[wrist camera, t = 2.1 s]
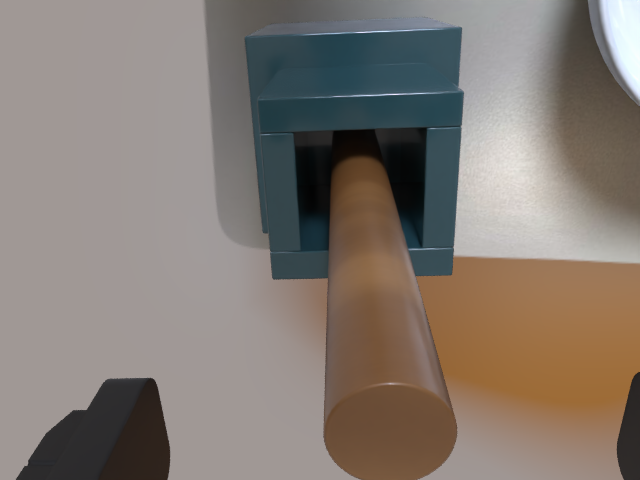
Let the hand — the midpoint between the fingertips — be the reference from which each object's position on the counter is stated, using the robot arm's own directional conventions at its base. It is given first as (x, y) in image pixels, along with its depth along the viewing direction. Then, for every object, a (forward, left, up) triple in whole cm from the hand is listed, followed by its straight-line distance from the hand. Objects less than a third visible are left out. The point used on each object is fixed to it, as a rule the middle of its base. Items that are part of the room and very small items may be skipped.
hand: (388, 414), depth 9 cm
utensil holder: (0, 0, -30) cm, 31 cm away
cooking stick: (0, 0, -20) cm, 20 cm away
